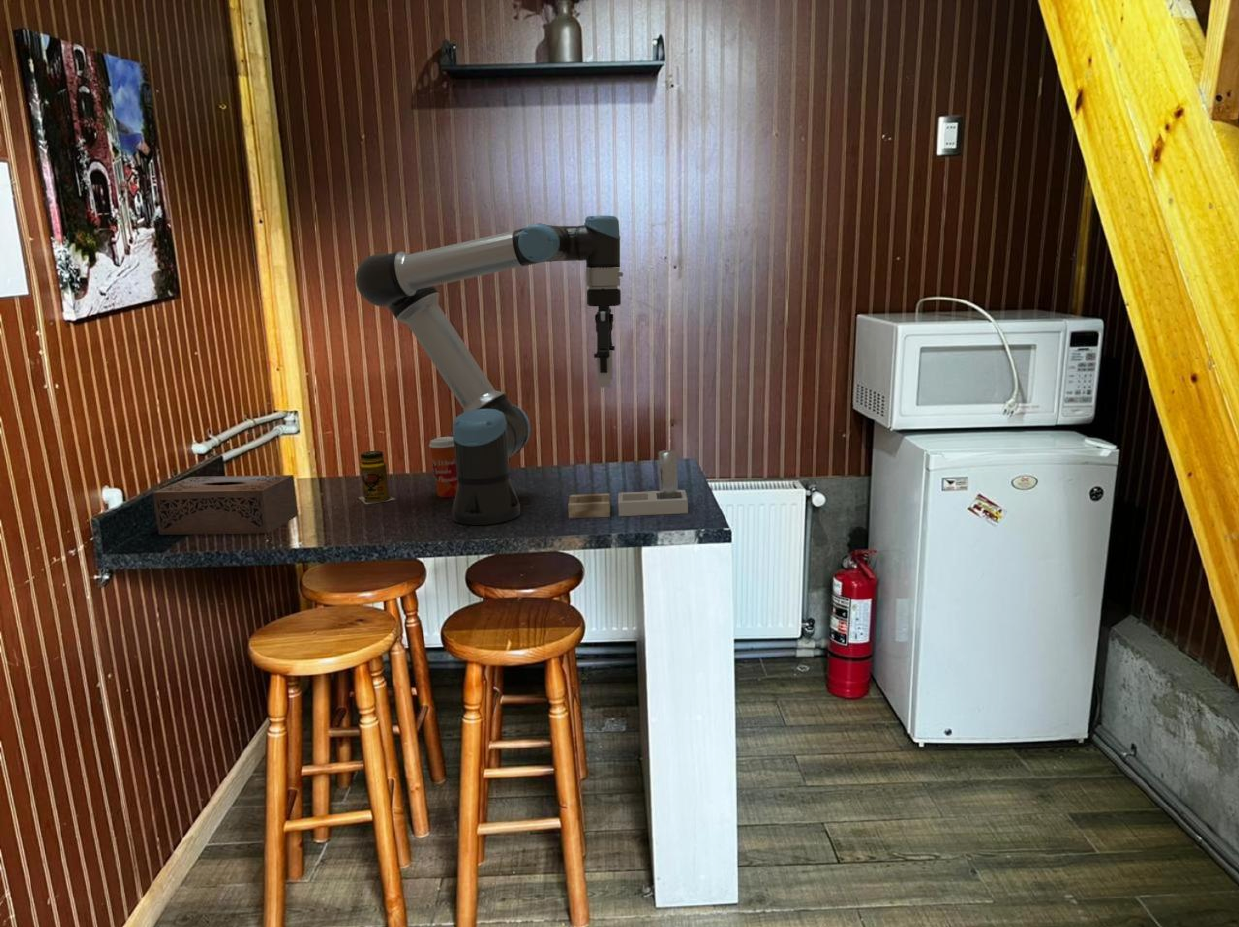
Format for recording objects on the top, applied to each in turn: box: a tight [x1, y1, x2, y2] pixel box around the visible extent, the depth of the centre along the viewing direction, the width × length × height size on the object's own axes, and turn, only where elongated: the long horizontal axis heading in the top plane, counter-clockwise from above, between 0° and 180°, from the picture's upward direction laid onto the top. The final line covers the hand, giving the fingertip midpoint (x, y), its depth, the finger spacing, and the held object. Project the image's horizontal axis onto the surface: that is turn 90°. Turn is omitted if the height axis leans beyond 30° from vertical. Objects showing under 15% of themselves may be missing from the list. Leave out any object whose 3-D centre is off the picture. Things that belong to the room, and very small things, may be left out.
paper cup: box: [428, 436, 458, 498], centre depth 223 cm, size 8×8×14 cm
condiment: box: [358, 450, 396, 505], centre depth 223 cm, size 7×8×12 cm
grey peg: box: [658, 449, 679, 499], centre depth 202 cm, size 4×4×13 cm
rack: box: [617, 489, 689, 517], centre depth 203 cm, size 15×9×3 cm, turn 90°
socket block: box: [567, 492, 611, 519], centre depth 203 cm, size 9×9×3 cm
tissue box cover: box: [151, 474, 299, 536], centre depth 206 cm, size 26×14×10 cm, turn 83°
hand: (605, 383), depth 205 cm, fingers open, 13 cm apart
